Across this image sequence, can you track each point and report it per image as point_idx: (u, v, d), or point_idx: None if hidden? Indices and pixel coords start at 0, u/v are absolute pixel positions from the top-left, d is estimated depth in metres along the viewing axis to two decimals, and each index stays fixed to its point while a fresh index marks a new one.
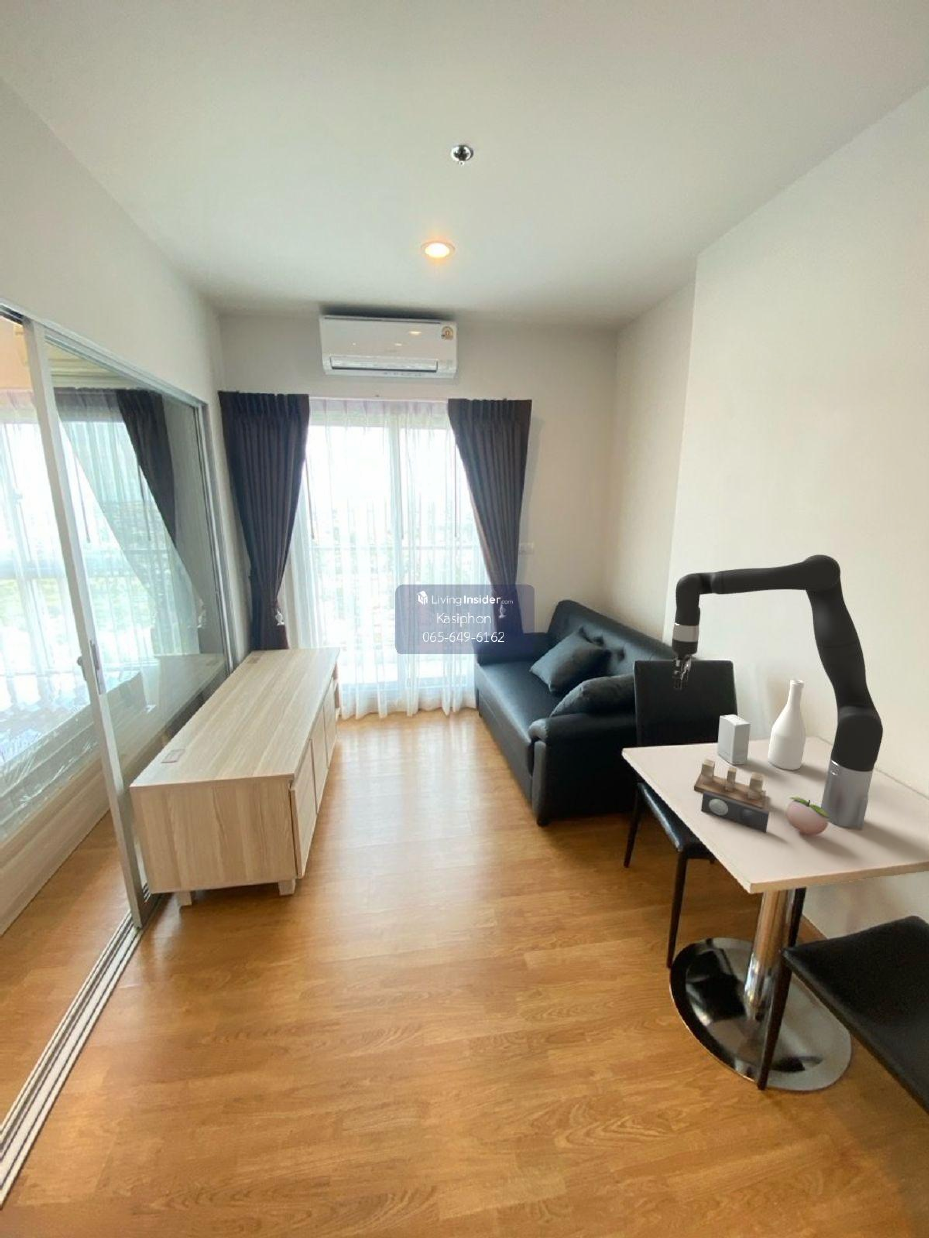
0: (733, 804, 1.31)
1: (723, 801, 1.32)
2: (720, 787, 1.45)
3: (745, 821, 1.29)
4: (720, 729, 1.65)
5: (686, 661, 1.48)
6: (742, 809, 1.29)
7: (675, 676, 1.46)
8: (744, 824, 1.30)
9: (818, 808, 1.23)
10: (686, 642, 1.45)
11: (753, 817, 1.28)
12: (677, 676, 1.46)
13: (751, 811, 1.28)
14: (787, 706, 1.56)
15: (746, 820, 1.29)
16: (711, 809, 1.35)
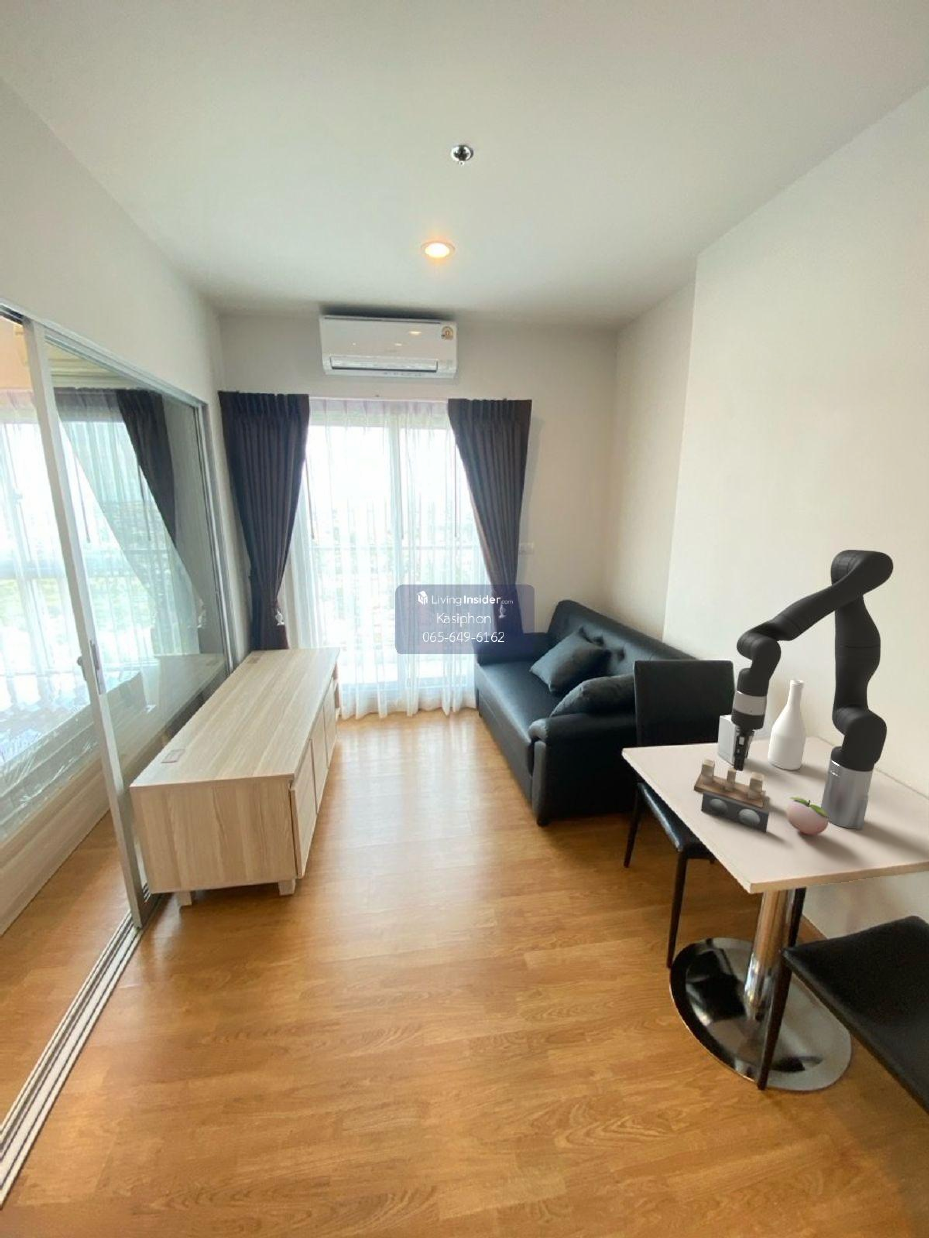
0: (733, 804, 1.31)
1: (723, 801, 1.32)
2: (720, 787, 1.45)
3: (745, 821, 1.29)
4: (720, 729, 1.65)
5: (750, 736, 1.24)
6: (742, 809, 1.29)
7: (738, 756, 1.22)
8: (744, 824, 1.30)
9: (818, 808, 1.23)
10: (751, 715, 1.21)
11: (753, 817, 1.28)
12: (740, 756, 1.21)
13: (751, 811, 1.28)
14: (787, 706, 1.56)
15: (746, 820, 1.29)
16: (711, 809, 1.35)
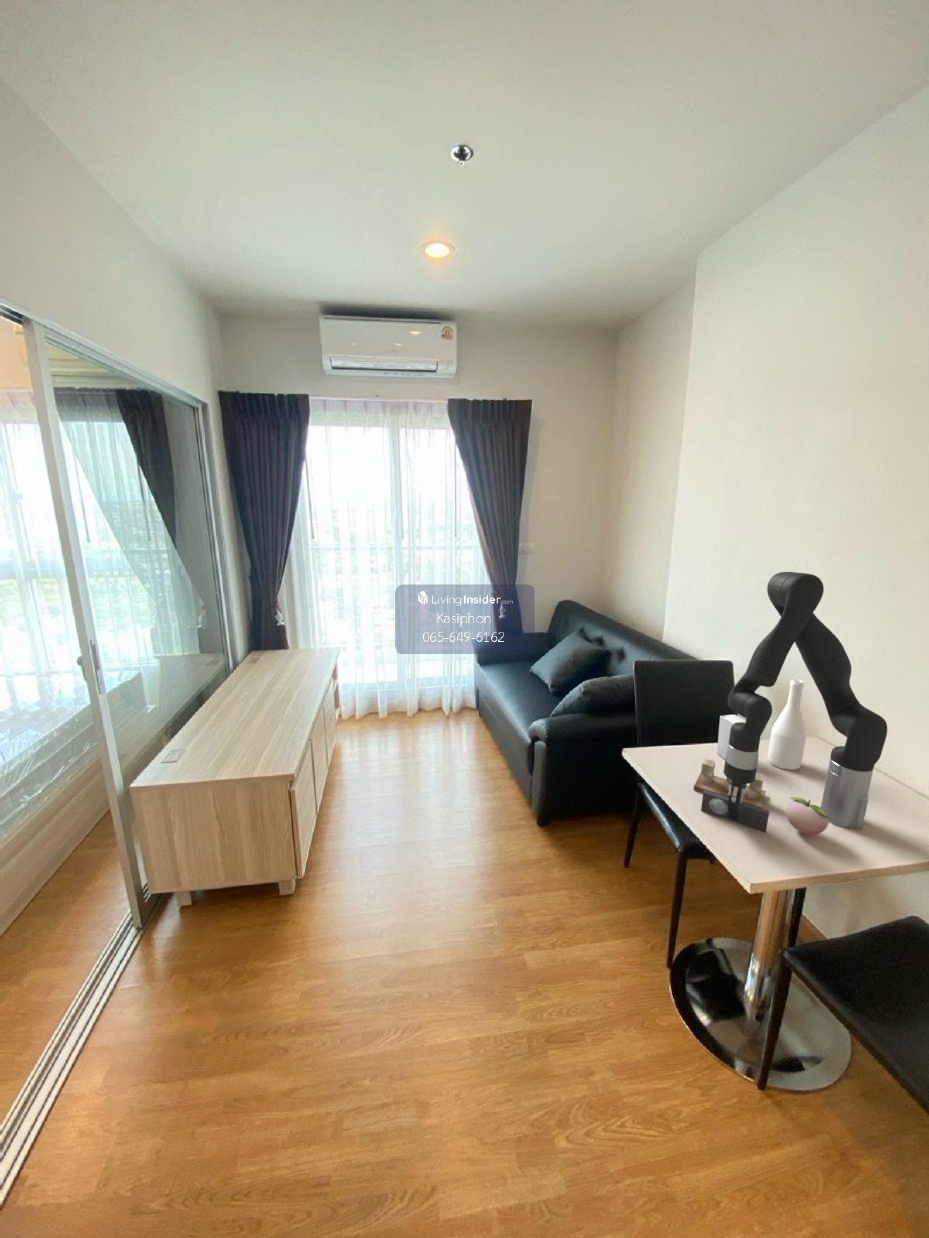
0: None
1: (723, 800, 1.32)
2: (720, 787, 1.45)
3: (745, 820, 1.29)
4: (720, 729, 1.65)
5: (742, 789, 1.27)
6: (742, 808, 1.29)
7: (732, 806, 1.28)
8: (744, 823, 1.30)
9: (818, 808, 1.23)
10: (743, 770, 1.25)
11: (753, 816, 1.28)
12: (734, 808, 1.28)
13: (751, 810, 1.28)
14: (787, 706, 1.56)
15: (746, 819, 1.29)
16: (711, 808, 1.34)
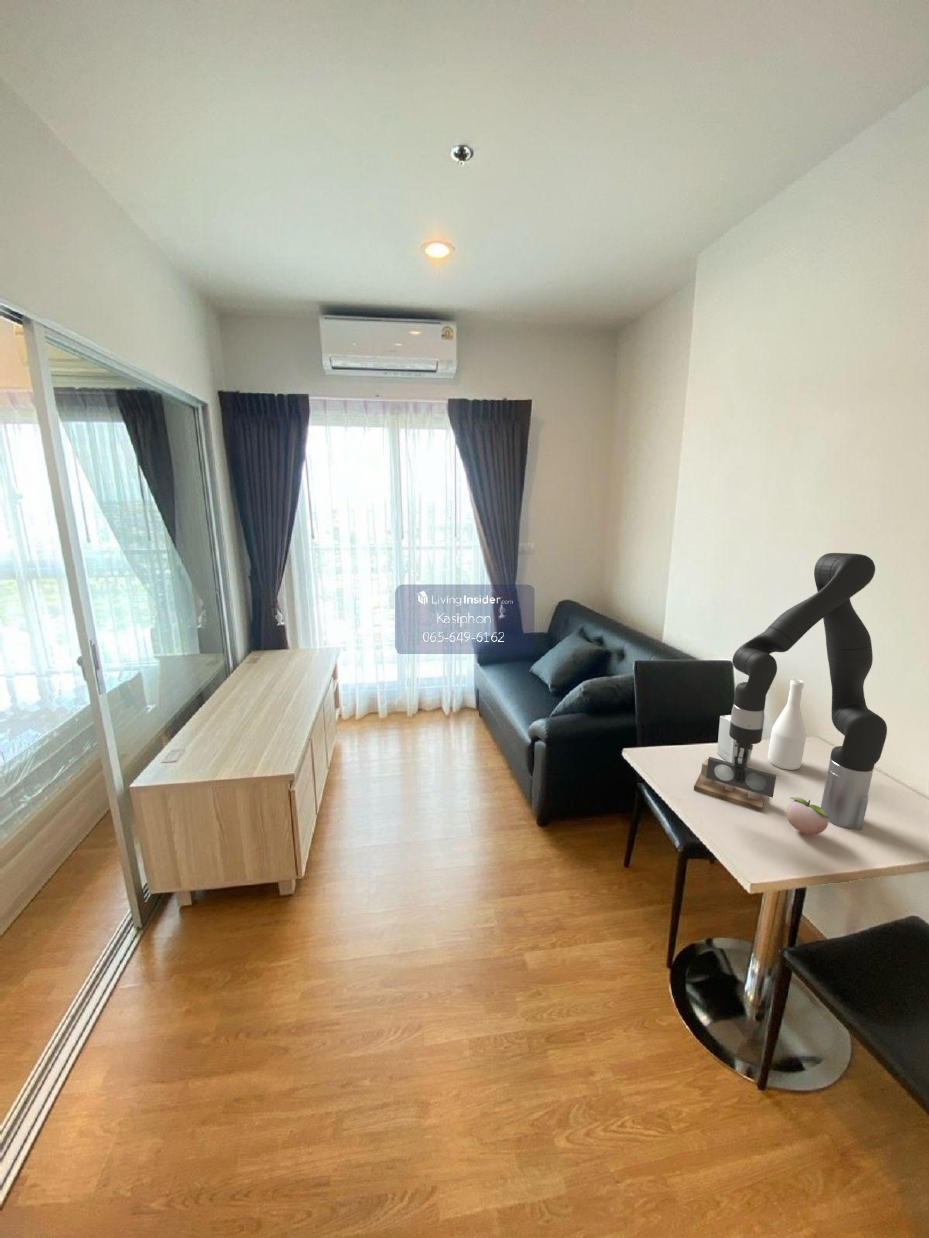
0: None
1: (729, 766, 1.29)
2: (720, 787, 1.45)
3: (751, 786, 1.27)
4: (720, 729, 1.65)
5: (749, 751, 1.24)
6: (749, 774, 1.27)
7: (738, 768, 1.25)
8: (750, 789, 1.27)
9: (818, 808, 1.23)
10: (749, 730, 1.22)
11: (760, 781, 1.25)
12: (741, 770, 1.25)
13: (758, 775, 1.25)
14: (787, 706, 1.56)
15: (752, 785, 1.27)
16: (716, 775, 1.32)
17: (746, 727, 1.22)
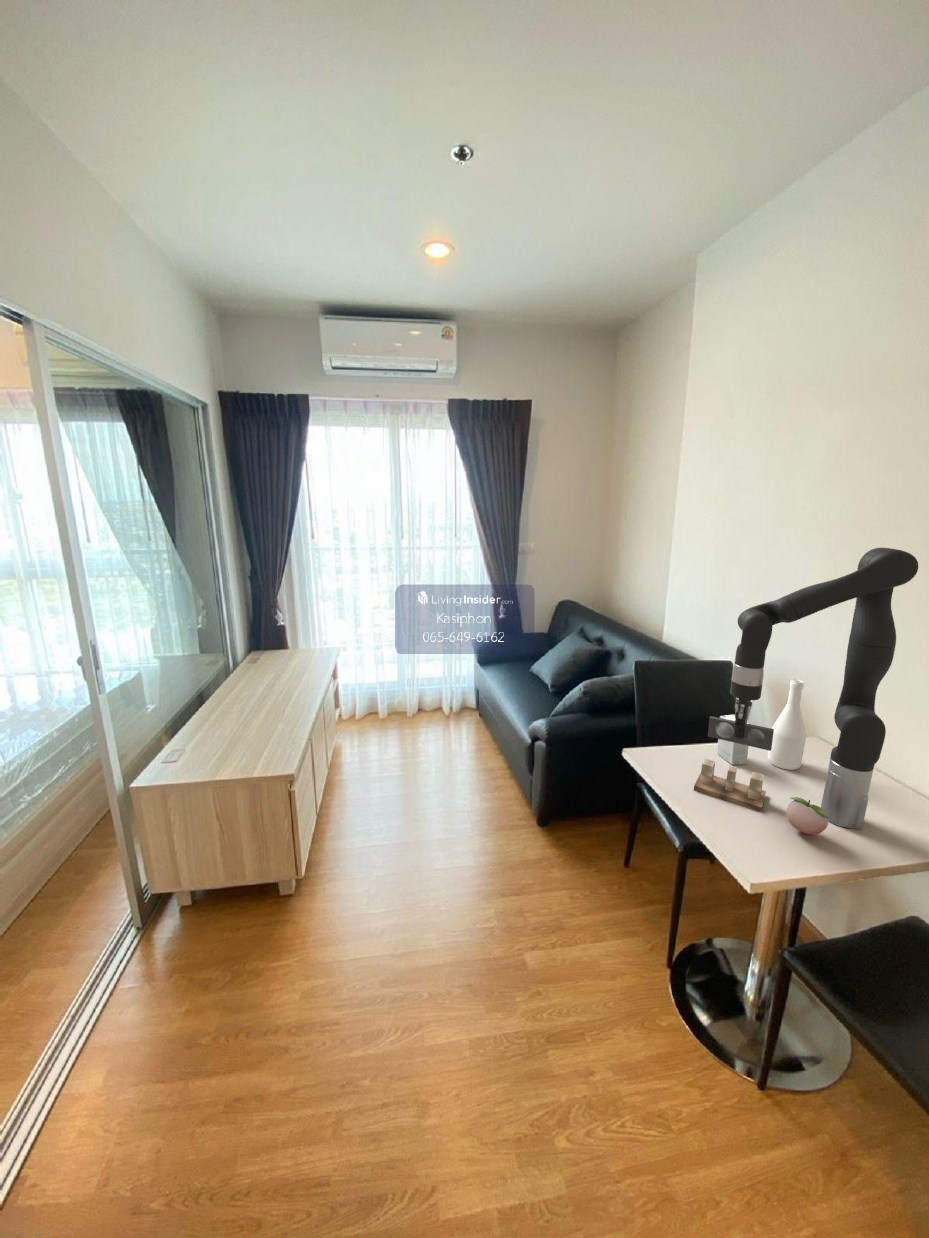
0: None
1: (729, 723, 1.37)
2: (720, 787, 1.45)
3: (751, 741, 1.34)
4: None
5: (749, 707, 1.32)
6: (748, 729, 1.34)
7: (739, 724, 1.32)
8: (750, 744, 1.34)
9: (818, 808, 1.23)
10: (749, 686, 1.29)
11: (758, 736, 1.33)
12: (741, 725, 1.32)
13: (756, 730, 1.33)
14: (787, 706, 1.56)
15: (752, 740, 1.34)
16: (717, 733, 1.39)
17: (746, 684, 1.29)
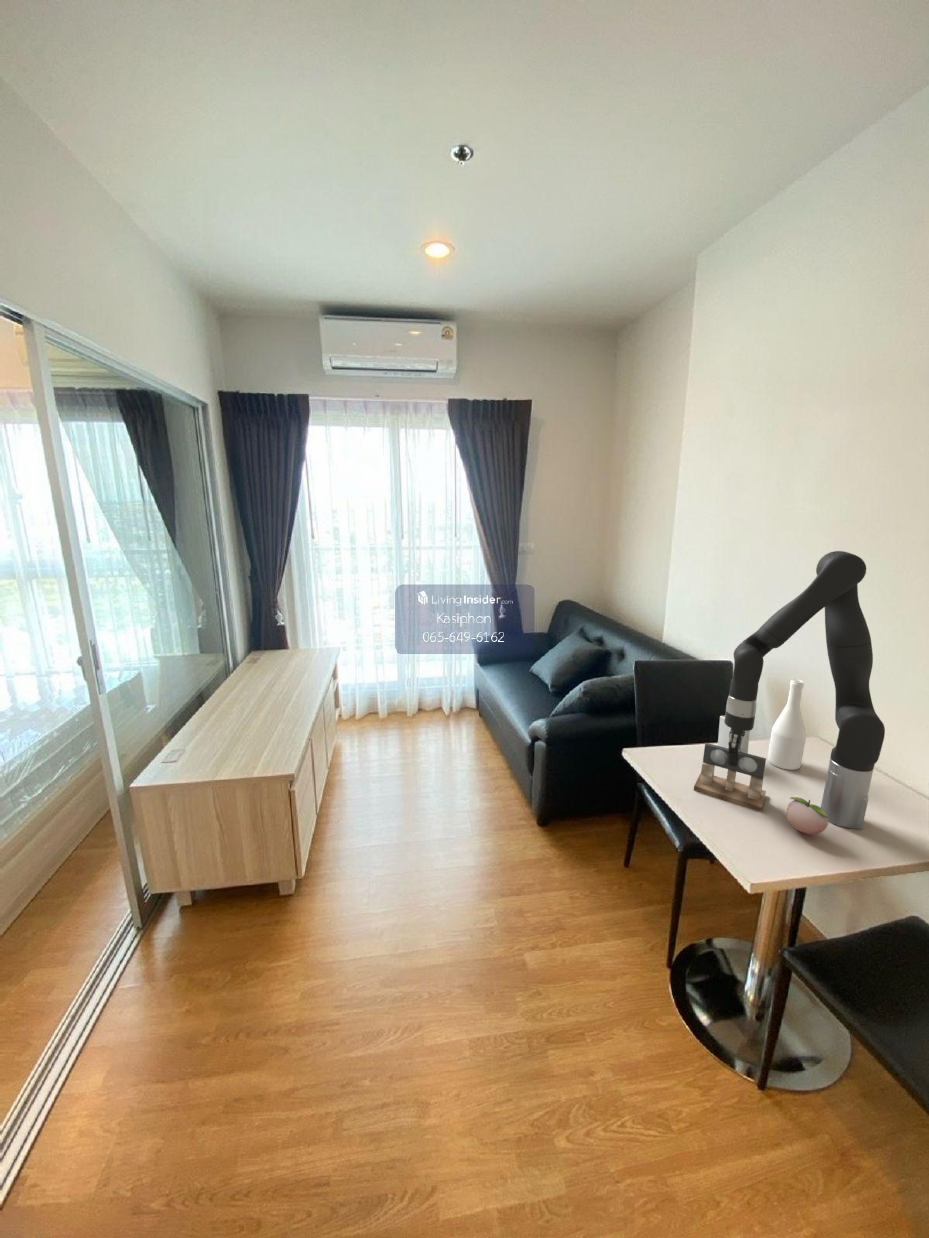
0: None
1: (724, 751, 1.43)
2: (720, 787, 1.45)
3: (744, 768, 1.40)
4: (720, 729, 1.65)
5: (742, 737, 1.38)
6: (741, 757, 1.40)
7: (732, 753, 1.39)
8: (743, 771, 1.41)
9: (818, 808, 1.23)
10: (742, 718, 1.35)
11: (751, 764, 1.39)
12: (734, 754, 1.38)
13: (749, 759, 1.39)
14: (787, 706, 1.56)
15: (745, 767, 1.40)
16: (712, 759, 1.45)
17: (740, 715, 1.35)
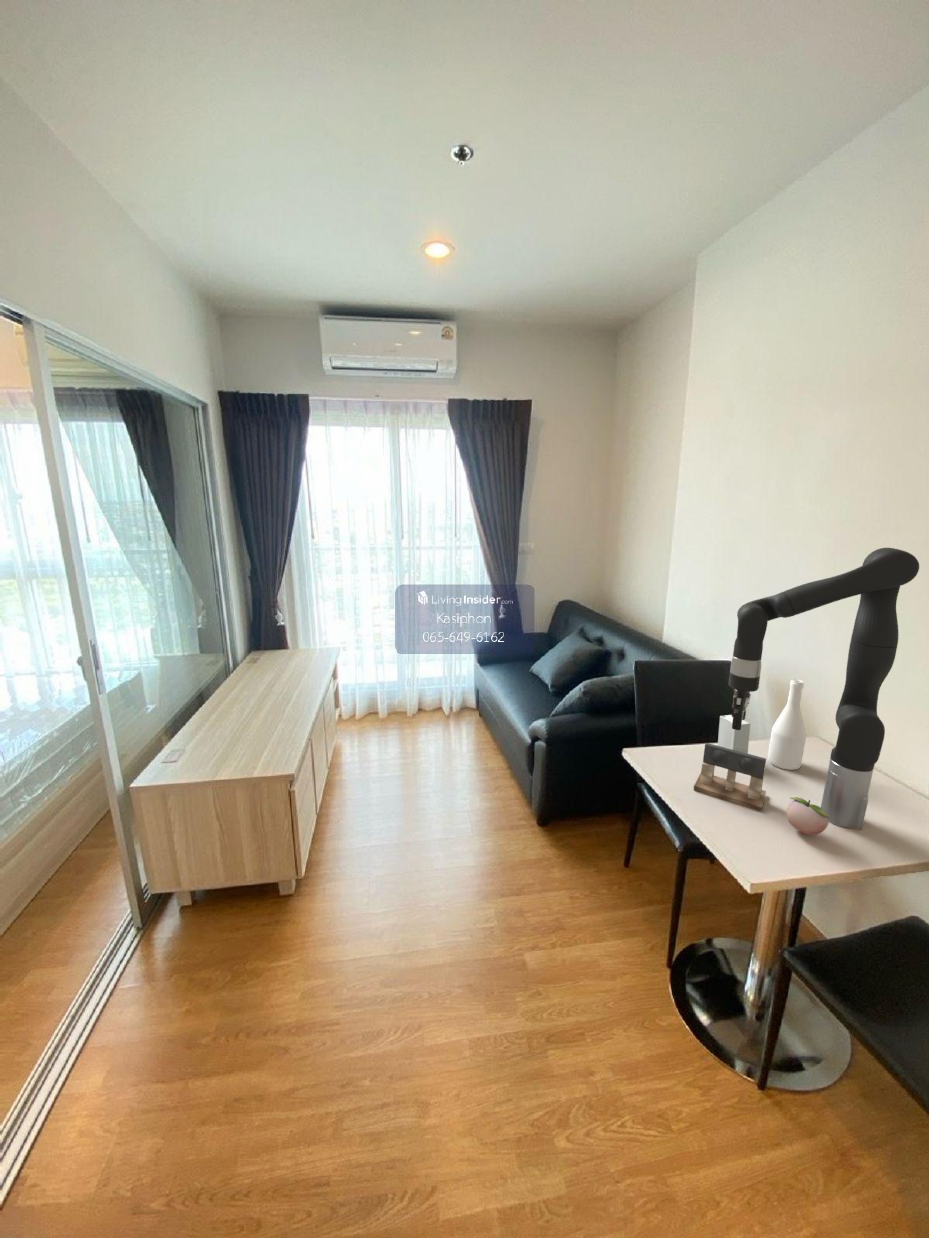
0: (733, 753, 1.41)
1: (724, 751, 1.43)
2: (720, 787, 1.45)
3: (744, 768, 1.40)
4: (720, 729, 1.65)
5: (746, 698, 1.35)
6: (741, 757, 1.40)
7: (735, 715, 1.33)
8: (743, 771, 1.41)
9: (818, 808, 1.23)
10: (747, 678, 1.33)
11: (751, 764, 1.39)
12: (738, 715, 1.33)
13: (749, 759, 1.39)
14: (787, 706, 1.56)
15: (745, 767, 1.40)
16: (712, 759, 1.45)
17: (744, 676, 1.33)
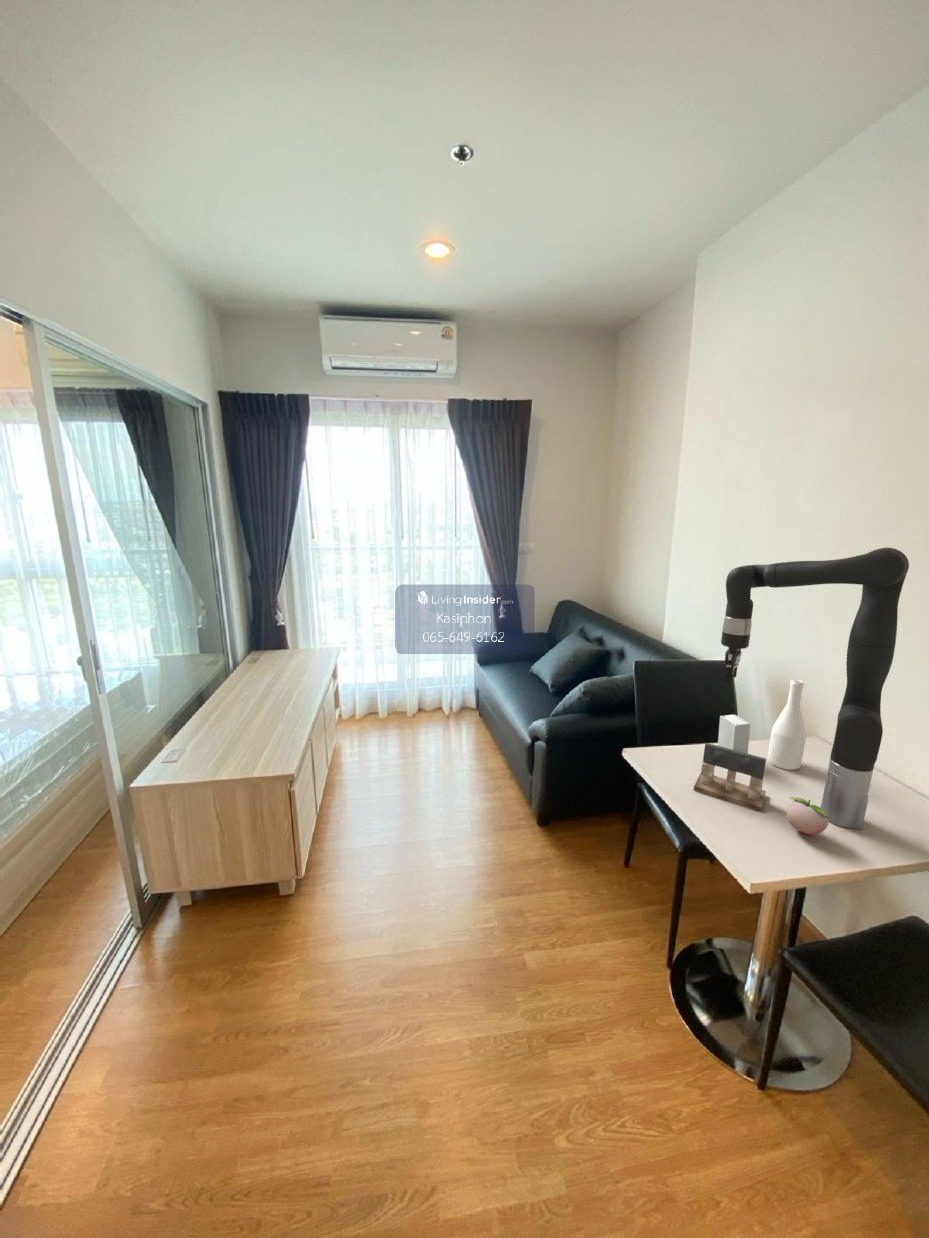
0: (733, 753, 1.41)
1: (724, 751, 1.43)
2: (720, 787, 1.45)
3: (744, 768, 1.40)
4: (720, 729, 1.65)
5: (737, 655, 1.44)
6: (741, 757, 1.40)
7: (727, 670, 1.42)
8: (743, 771, 1.41)
9: (818, 808, 1.23)
10: (738, 635, 1.42)
11: (751, 764, 1.39)
12: (729, 670, 1.42)
13: (749, 759, 1.39)
14: (787, 706, 1.56)
15: (745, 767, 1.40)
16: (712, 759, 1.45)
17: (735, 633, 1.42)
